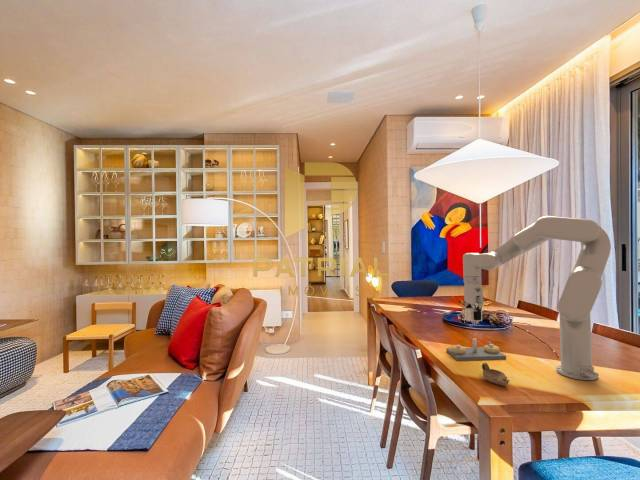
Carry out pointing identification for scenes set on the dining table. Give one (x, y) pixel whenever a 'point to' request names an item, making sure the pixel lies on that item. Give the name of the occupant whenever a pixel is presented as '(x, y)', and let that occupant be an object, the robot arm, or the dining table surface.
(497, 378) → the brown duck figurine
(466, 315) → the loose gear
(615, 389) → the dining table surface
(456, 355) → the gear board
